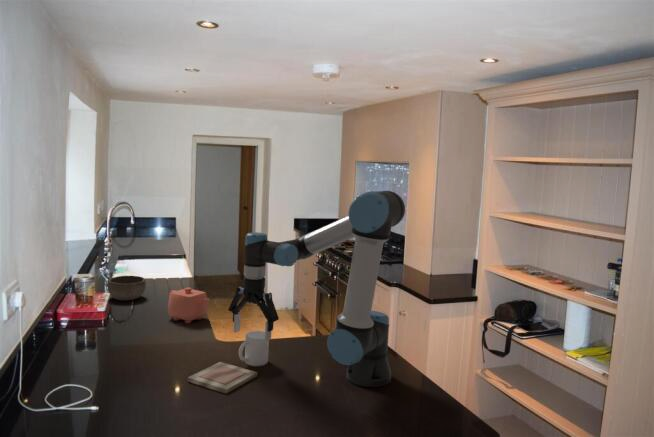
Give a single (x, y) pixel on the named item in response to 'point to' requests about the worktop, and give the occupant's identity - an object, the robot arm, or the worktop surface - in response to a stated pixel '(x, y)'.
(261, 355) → the mug
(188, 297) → the teapot
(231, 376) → the board
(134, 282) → the bowl
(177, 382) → the worktop surface
